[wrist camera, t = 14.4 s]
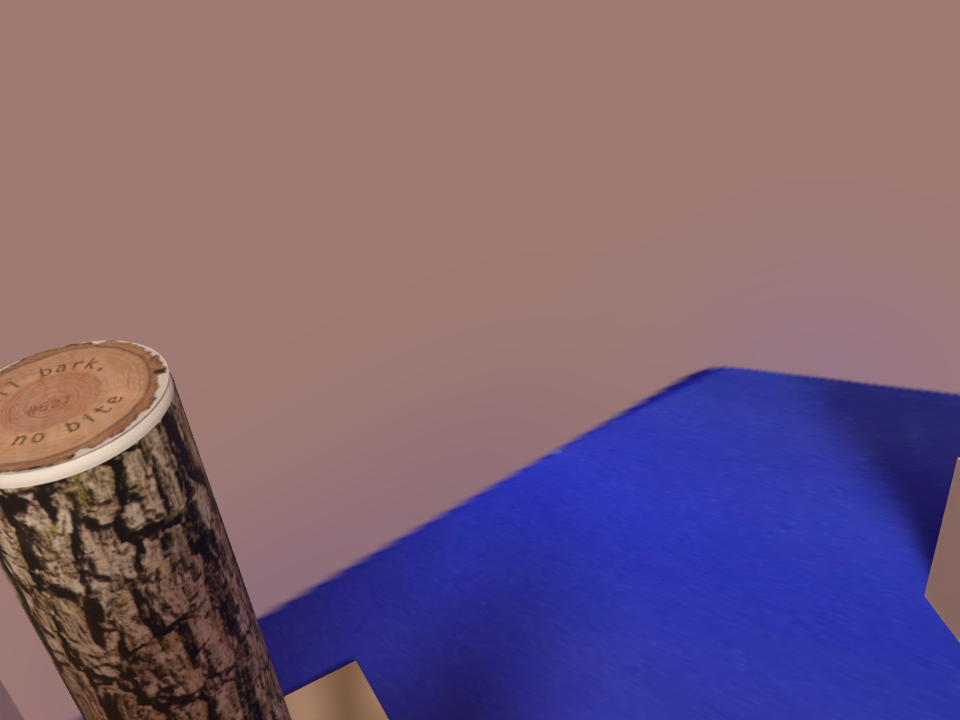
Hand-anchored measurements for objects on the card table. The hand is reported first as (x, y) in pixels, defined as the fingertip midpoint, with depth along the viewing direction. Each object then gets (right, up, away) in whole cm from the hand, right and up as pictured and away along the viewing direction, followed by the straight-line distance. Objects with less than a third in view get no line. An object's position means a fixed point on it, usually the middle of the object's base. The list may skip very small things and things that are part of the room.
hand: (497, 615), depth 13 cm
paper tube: (-11, -19, +29) cm, 36 cm away
